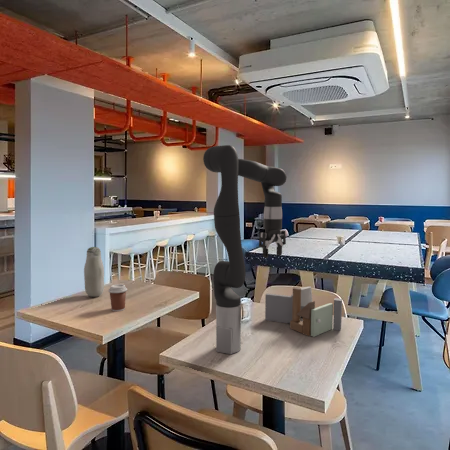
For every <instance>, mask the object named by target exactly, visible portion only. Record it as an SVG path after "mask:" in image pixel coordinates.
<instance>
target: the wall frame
mask: <svg viewBox="0 0 450 450" xmlns="http://www.w3.org/2000/svg"><path fill="white" fill-rule="evenodd" d="M264 296H265V298H264V299H265V303H264V304H265V311H264V313H265V314H264V317H265V318H264V320H265V321H270V322H277V323H285V324H290V321H291V320H292V303H293V293H292V294H291V295H286V294H285V295H284V294H276V293H265V295H264ZM342 312H343V299H342V298H338V297H336V298H335V297H334V299H333V325H332V330H334V331H341V329H342V314H343V313H342Z"/></svg>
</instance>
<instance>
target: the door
mask: <svg viewBox="0 0 450 450" xmlns="http://www.w3.org/2000/svg"><path fill="white" fill-rule="evenodd" d="M333 320H334V303H332V302H329V303H328V302H327V303H326V304H323V305H320V306H317V307H315V308H314V309H311V337H314V338H315V337H318V336H319V335H321V334H324V333H326V332H328V331H330V330H333Z"/></svg>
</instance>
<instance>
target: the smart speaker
mask: <svg viewBox="0 0 450 450" xmlns="http://www.w3.org/2000/svg"><path fill="white" fill-rule="evenodd" d="M300 288H301V310H302V309H303V308H304V307H305V306H306V305H307V304H308V303H309V302H313V293H312V289H313V288H312V286H309V285H308V286H303V287H300Z"/></svg>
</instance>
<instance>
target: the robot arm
mask: <svg viewBox="0 0 450 450" xmlns="http://www.w3.org/2000/svg"><path fill="white" fill-rule="evenodd" d="M202 160H203V164H204V167H205V168H206V169H207V170H209V171H210V172H212V173H220V175H221V177H220V178H221V179H220V180H221V181H220V182H221V186H220V187H221V188H220V192H219V194H218V197H217V198H216V202H215V204H214V207H213V222H214V229H215V232H216V234H217V236H218V237H219V239H220V241H221V242H222V244H223V246H224V248H225V250H226V252H227V256H228V261H227V260H220V261H218V262H217V263H216V264H215V265H214V269H213V277H212V278H213V293H214V299H215V301H216V303H215V318H216V320H215V321H216V322H215V323H216V324H215V327H216V328H215V330H216V331H215V334H216V336H215V341H216V342H215V344H216V346H215V349H216V352H217V353H222V354H227V355H233V354H235V353H238V352H240V350H241V349H242V348H241V347H242V346H241V343H242V342H241V340H242V338H241V337H242V336H241V334H242V333H241V331H242V330H241V329H242V321H241V320H242V316H241V314H242V299H241V296H240V295H239V294H238V293H236V292H235V291H234V290H233V288H234V289H240V288H241V287H243V286H244V284H245V280H246V265H245V258H244V253H243V247H242V246H243V245H242V235H241V217H240V205H239V183H238V182H239V177H242V178H246V179H249V180H251V181H255V182H258V183H261V187H262V191H263V195H264V209H263V229H264V231H265V232H259V235H258V239H259V240H258V247H259V248H261V249H262V257H263V258H265V259H268V258H269V247H270V245H271V244H272V243H275V244H276V256H282V254H283V246H284V245H286V243H287V242H286V241H287V240H286V238H287V237H286V235H287V234H286V233H287V232H286V230H282V228H283V209H282V208H283V207H282V206H283V205H282V204H283V203H282V202H283V200H282V199H283V196H282V193H280V192H278V191H276V190H275V188H274V187H281V186H284V185H285V184H286V182H287V178H288V177H287V174H286V171H284V169H282V168H280V167H276V166H269V165H265V164H262V163H260V162H257V161H255V160H250V159H244V158H239V156H238V152H237V150H236V148H235V147H234V146H233V145H229V144H227V145H214V146H211V147H209V148H207V149H206V150H205V152H204V154H203V159H202Z"/></svg>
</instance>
